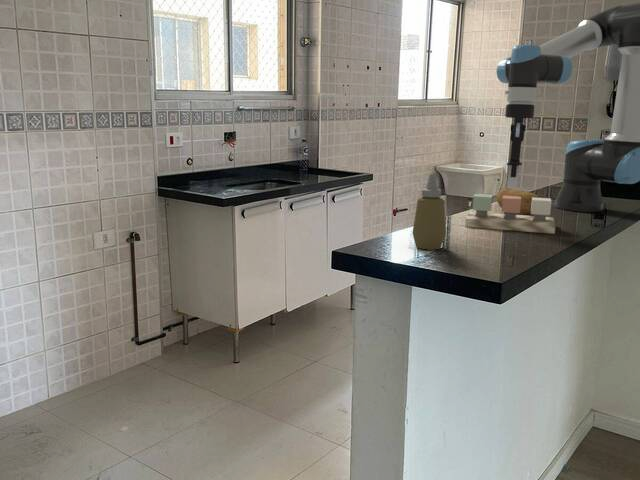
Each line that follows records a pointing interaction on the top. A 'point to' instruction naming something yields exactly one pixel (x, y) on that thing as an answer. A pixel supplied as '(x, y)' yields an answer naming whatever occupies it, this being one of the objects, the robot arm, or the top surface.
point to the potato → (525, 196)
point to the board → (510, 223)
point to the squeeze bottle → (430, 217)
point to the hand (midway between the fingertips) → (511, 188)
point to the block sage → (482, 204)
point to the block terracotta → (511, 206)
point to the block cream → (540, 208)
